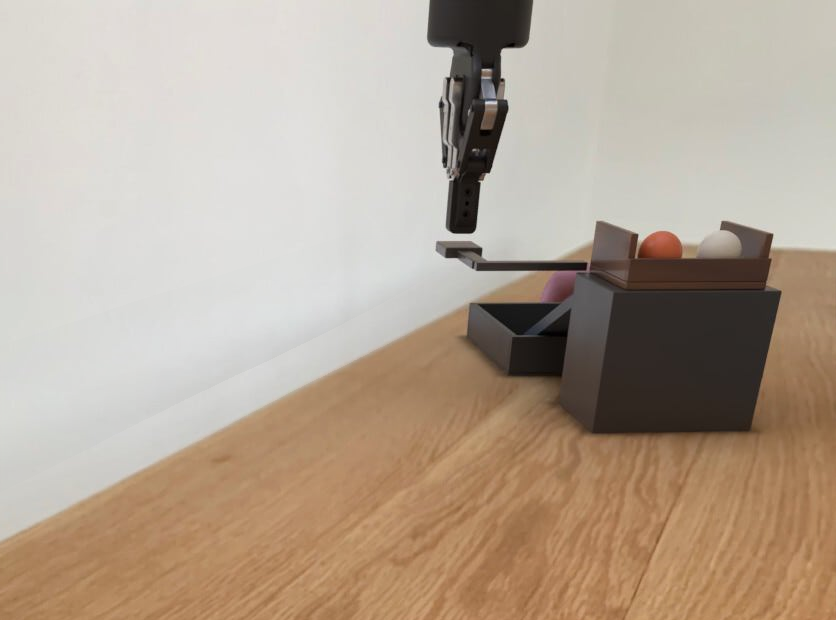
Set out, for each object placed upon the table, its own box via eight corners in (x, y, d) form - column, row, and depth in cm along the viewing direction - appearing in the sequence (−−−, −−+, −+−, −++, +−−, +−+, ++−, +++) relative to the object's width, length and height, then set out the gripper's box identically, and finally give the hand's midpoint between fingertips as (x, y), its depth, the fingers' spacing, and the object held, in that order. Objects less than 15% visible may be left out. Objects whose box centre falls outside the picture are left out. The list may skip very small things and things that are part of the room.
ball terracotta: (670, 261, 79) (684, 222, 77) (677, 287, 78) (692, 249, 75) (628, 259, 79) (642, 220, 77) (634, 285, 78) (648, 247, 75)
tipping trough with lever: (435, 251, 92) (438, 204, 90) (663, 250, 93) (671, 204, 91) (490, 290, 76) (496, 234, 74) (765, 289, 77) (777, 234, 75)
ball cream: (739, 225, 78) (755, 241, 76) (722, 268, 80) (738, 285, 78) (699, 221, 78) (714, 238, 75) (683, 265, 80) (698, 281, 77)
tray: (466, 339, 110) (469, 302, 108) (614, 338, 111) (620, 301, 109) (507, 378, 96) (512, 336, 94) (677, 376, 97) (684, 335, 95)
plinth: (557, 406, 88) (575, 272, 83) (703, 404, 89) (730, 271, 84) (591, 437, 81) (614, 291, 76) (749, 434, 82) (782, 290, 77)
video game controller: (630, 341, 117) (645, 273, 117) (626, 327, 113) (642, 257, 112) (538, 332, 121) (552, 267, 120) (531, 319, 117) (546, 251, 116)
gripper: (561, -36, 74) (528, 244, 83) (511, -22, 86) (486, 223, 95) (452, -39, 74) (430, 243, 83) (415, -25, 85) (399, 222, 94)
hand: (460, 232), depth 89 cm, fingers closed
